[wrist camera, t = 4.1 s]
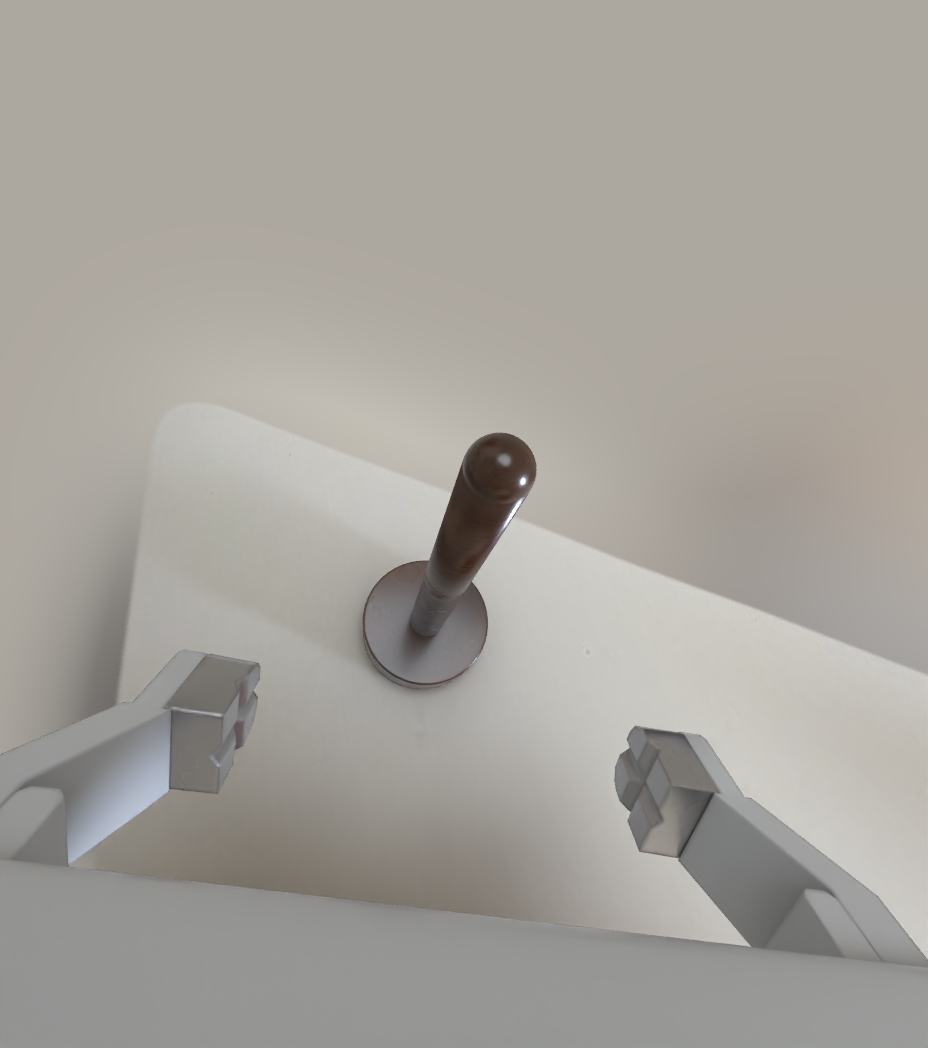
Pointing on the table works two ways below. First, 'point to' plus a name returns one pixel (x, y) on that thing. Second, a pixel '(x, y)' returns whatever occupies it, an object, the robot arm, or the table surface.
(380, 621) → the masher
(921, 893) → the table surface
